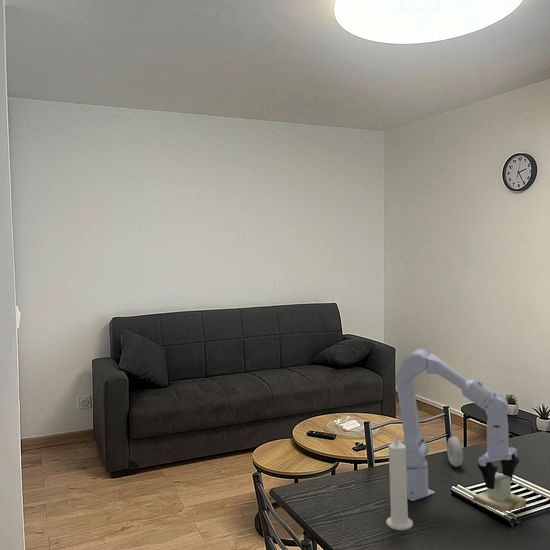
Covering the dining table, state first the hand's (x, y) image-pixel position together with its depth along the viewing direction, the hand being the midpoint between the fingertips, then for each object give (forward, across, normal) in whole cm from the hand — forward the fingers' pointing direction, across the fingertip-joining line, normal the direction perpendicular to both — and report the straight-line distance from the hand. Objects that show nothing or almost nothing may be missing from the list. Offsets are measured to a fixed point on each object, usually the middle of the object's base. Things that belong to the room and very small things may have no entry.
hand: (498, 484), depth 165 cm
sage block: (+4, 0, 0) cm, 4 cm away
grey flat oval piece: (+6, +13, +28) cm, 32 cm away
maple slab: (+7, 0, 0) cm, 7 cm away
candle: (+6, -31, +8) cm, 33 cm away
